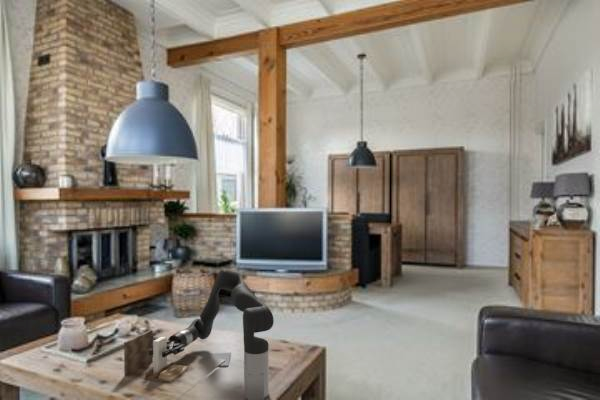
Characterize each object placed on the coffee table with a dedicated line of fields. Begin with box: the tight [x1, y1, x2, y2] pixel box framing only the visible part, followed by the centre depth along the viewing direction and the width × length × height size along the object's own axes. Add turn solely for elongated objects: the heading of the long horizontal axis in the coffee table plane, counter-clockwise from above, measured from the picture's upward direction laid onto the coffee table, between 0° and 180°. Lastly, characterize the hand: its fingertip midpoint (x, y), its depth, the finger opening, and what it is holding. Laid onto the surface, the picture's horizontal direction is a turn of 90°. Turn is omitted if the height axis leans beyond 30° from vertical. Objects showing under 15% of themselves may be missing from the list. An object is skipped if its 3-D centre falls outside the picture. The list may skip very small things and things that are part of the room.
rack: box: [123, 329, 195, 385], centre depth 171 cm, size 16×23×15 cm
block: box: [153, 336, 168, 374], centre depth 171 cm, size 6×2×14 cm, turn 161°
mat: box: [199, 352, 232, 368], centre depth 185 cm, size 14×14×1 cm
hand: (156, 354), depth 169 cm, fingers open, 6 cm apart
